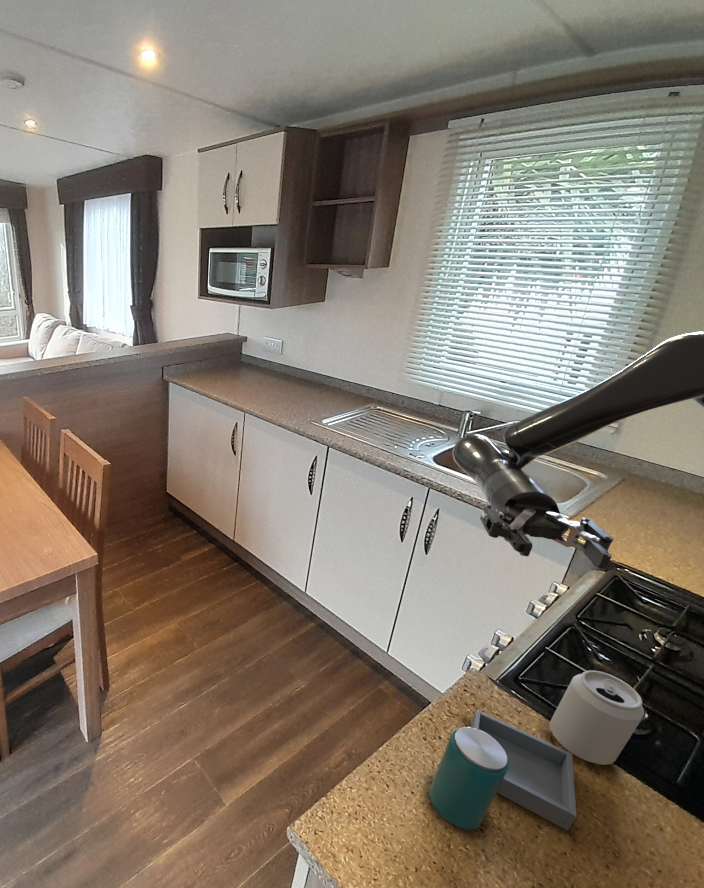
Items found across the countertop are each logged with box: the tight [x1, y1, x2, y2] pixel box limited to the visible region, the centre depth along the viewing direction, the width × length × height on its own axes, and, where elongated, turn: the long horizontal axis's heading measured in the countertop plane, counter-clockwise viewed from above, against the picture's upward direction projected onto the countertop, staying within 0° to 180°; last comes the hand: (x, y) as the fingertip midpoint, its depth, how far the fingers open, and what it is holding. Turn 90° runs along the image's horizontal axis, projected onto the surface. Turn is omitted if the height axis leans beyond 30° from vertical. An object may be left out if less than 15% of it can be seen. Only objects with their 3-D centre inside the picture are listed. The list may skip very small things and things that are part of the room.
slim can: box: [428, 726, 509, 831], centre depth 62 cm, size 6×6×12 cm
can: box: [548, 669, 645, 766], centre depth 70 cm, size 8×8×12 cm
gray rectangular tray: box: [469, 709, 577, 831], centre depth 68 cm, size 11×10×3 cm
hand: (565, 556), depth 66 cm, fingers open, 8 cm apart
